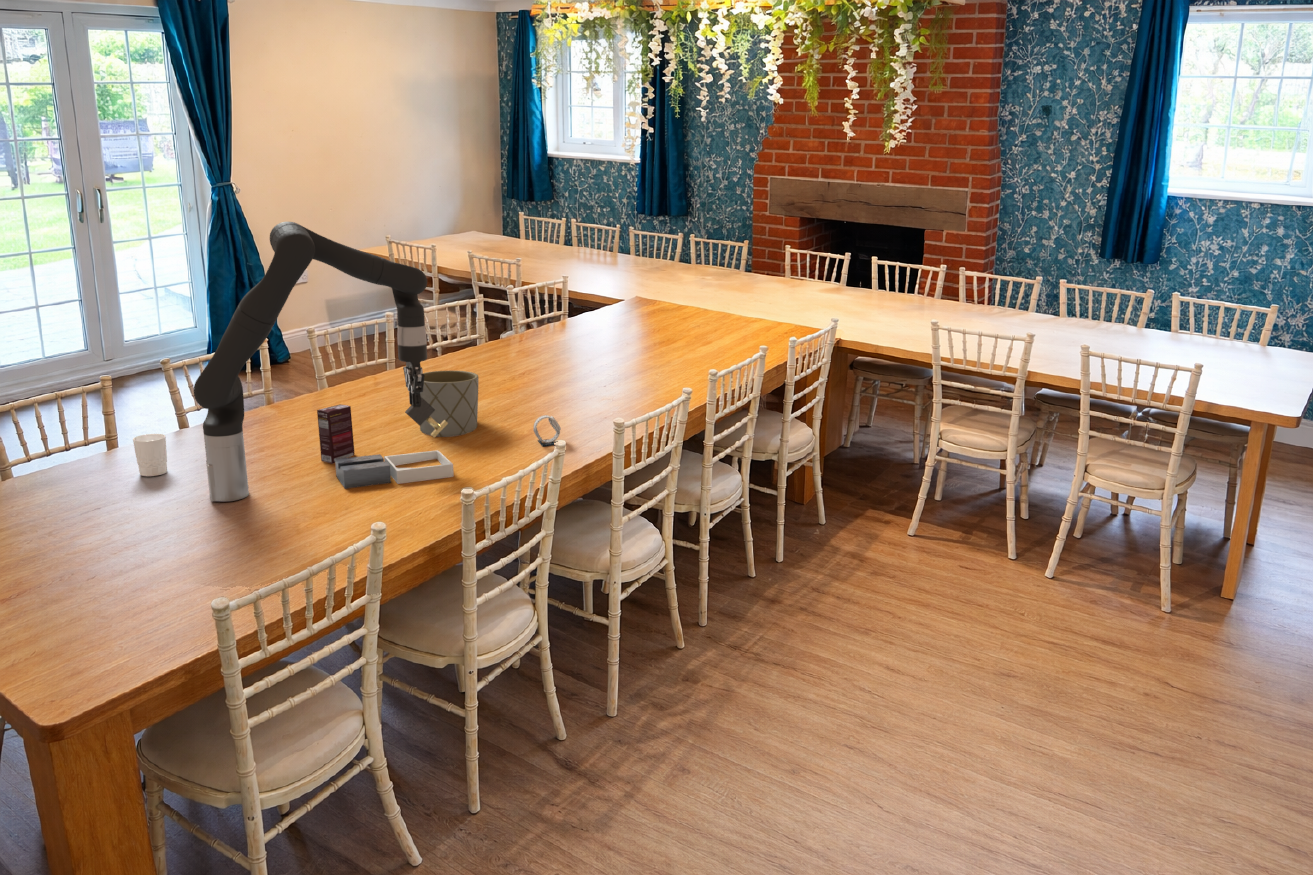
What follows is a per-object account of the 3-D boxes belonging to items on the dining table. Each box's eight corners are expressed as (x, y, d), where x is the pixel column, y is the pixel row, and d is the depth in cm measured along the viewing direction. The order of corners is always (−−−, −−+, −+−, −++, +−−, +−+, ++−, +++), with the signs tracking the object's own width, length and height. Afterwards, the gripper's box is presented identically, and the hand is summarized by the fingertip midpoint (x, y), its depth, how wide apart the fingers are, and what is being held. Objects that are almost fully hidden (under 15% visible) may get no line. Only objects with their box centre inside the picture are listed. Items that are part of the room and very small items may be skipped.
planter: (407, 445, 302) (404, 381, 297) (431, 430, 320) (428, 369, 315) (468, 449, 299) (465, 384, 294) (488, 433, 317) (486, 371, 312)
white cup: (174, 472, 273) (170, 437, 270) (144, 479, 267) (139, 442, 265) (162, 467, 278) (158, 432, 275) (132, 472, 272) (128, 437, 270)
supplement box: (343, 457, 290) (339, 403, 286) (355, 459, 287) (352, 405, 283) (320, 464, 282) (315, 409, 278) (332, 466, 280) (328, 411, 276)
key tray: (397, 483, 266) (396, 470, 265) (384, 468, 279) (384, 456, 278) (453, 476, 273) (453, 464, 272) (438, 462, 286) (438, 450, 285)
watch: (563, 453, 297) (562, 417, 294) (537, 455, 294) (536, 419, 291) (557, 448, 302) (557, 412, 299) (531, 450, 299) (531, 415, 296)
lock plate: (344, 488, 261) (343, 471, 260) (336, 476, 272) (335, 459, 270) (390, 482, 267) (389, 465, 265) (381, 470, 277) (379, 454, 276)
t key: (446, 421, 277) (420, 396, 272) (449, 423, 275) (422, 397, 270) (431, 436, 276) (404, 412, 271) (434, 438, 274) (406, 413, 269)
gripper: (433, 345, 262) (435, 410, 267) (419, 337, 274) (422, 399, 278) (404, 347, 259) (407, 412, 263) (391, 339, 271) (395, 401, 275)
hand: (415, 405), depth 271 cm, fingers closed on t key, 2 cm apart
